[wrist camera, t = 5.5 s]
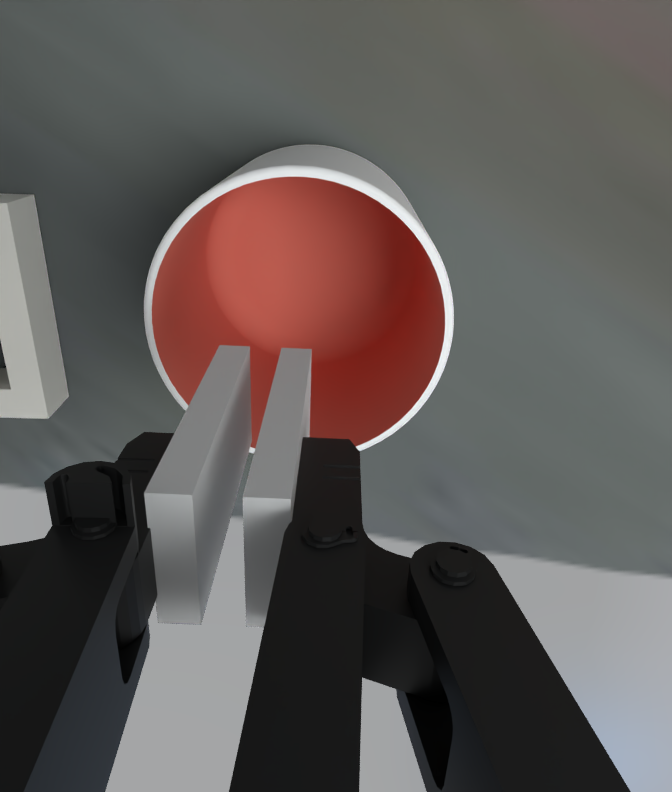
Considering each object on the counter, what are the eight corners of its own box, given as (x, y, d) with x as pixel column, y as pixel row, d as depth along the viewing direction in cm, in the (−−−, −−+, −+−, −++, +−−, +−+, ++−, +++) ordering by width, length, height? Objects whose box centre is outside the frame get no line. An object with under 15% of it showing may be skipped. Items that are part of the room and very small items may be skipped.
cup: (218, 360, 32) (167, 466, 23) (191, 146, 27) (115, 171, 18) (419, 355, 31) (448, 460, 22) (423, 137, 27) (462, 159, 18)
